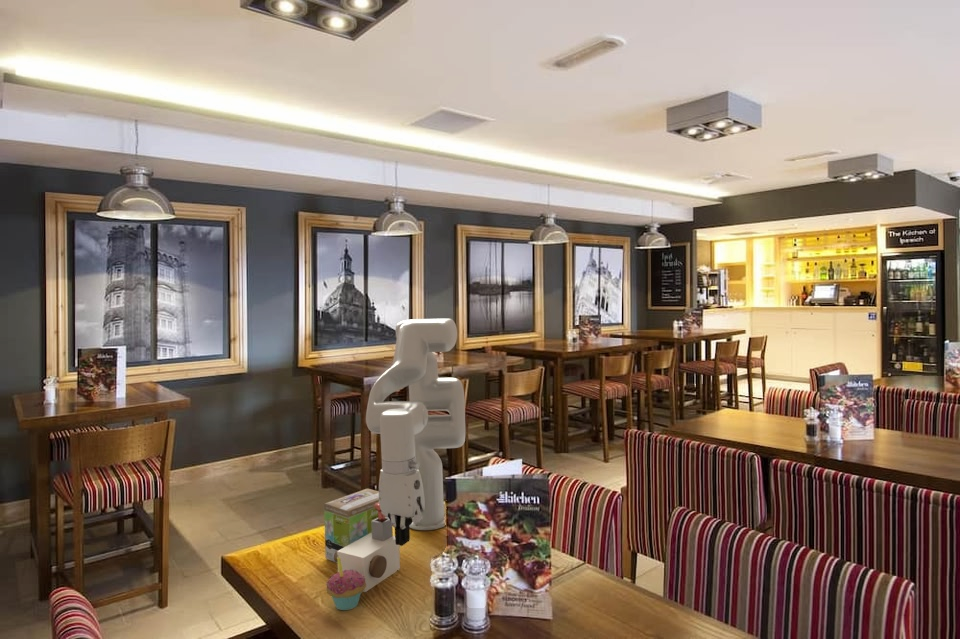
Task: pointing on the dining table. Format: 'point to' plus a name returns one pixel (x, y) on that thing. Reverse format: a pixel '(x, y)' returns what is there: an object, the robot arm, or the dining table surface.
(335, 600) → the cupcake
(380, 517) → the plunger
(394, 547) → the block
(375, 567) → the pin
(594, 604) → the dining table surface
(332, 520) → the tea box
